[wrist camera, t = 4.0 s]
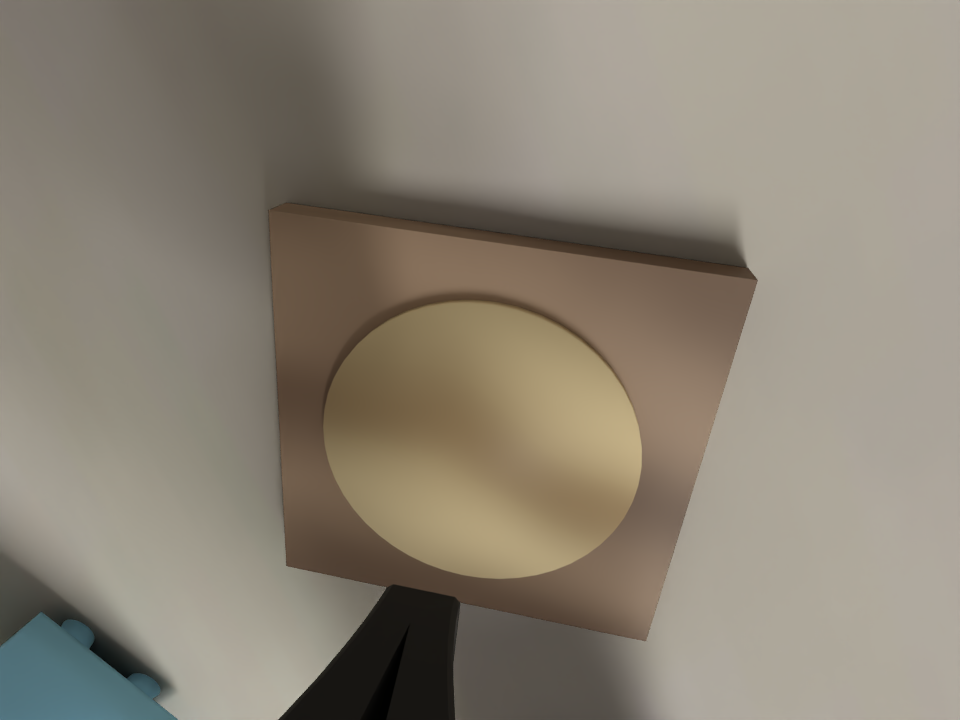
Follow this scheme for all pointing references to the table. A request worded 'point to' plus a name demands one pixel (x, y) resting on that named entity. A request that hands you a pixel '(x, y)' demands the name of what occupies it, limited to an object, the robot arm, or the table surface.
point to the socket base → (494, 410)
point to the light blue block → (69, 678)
